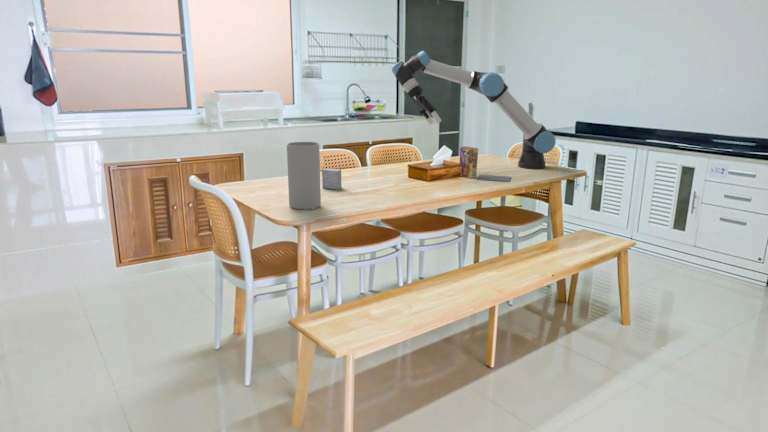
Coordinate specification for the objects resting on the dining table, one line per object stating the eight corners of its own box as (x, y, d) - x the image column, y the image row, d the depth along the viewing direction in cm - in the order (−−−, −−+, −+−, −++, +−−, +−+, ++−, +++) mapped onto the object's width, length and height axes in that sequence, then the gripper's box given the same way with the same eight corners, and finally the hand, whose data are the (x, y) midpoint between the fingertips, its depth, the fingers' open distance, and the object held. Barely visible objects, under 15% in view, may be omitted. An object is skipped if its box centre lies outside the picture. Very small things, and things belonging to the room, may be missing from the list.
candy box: (477, 177, 268) (478, 147, 264) (471, 178, 265) (473, 148, 261) (464, 174, 274) (465, 145, 270) (458, 175, 272) (459, 146, 268)
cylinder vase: (283, 208, 206) (280, 145, 199) (299, 201, 217) (297, 141, 210) (311, 211, 201) (309, 147, 194) (326, 204, 213) (324, 142, 206)
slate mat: (511, 177, 269) (511, 176, 269) (509, 181, 258) (509, 181, 258) (479, 175, 274) (480, 174, 274) (476, 179, 263) (476, 178, 263)
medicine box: (341, 187, 242) (341, 169, 240) (337, 189, 238) (337, 171, 235) (326, 186, 244) (325, 168, 242) (322, 188, 240) (321, 170, 238)
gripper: (415, 93, 282) (437, 125, 281) (399, 93, 260) (423, 128, 259) (425, 85, 279) (448, 117, 278) (410, 83, 257) (434, 119, 256)
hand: (436, 122), depth 268 cm, fingers open, 13 cm apart
